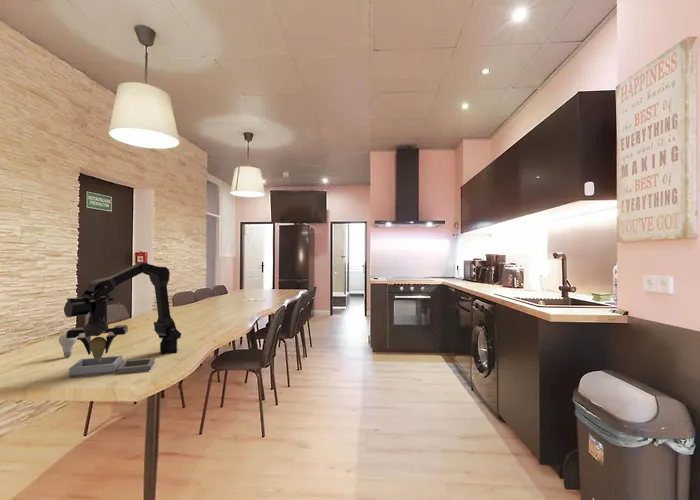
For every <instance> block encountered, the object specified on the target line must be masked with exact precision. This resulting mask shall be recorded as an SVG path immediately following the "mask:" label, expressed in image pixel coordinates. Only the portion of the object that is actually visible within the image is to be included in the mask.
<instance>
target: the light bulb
mask: <svg viewBox="0 0 700 500" xmlns="http://www.w3.org/2000/svg"><path fill="white" fill-rule="evenodd" d="M106 341H107V339H106V337H105V338H104V337H103V336H95V337H94V338H92V339H91V341H90V343H89V348H90V350H91V353H92V356H93V358H94V362H96V363H99V362H101V361H102V357H103V355H104V352H105V349H106Z"/></svg>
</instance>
